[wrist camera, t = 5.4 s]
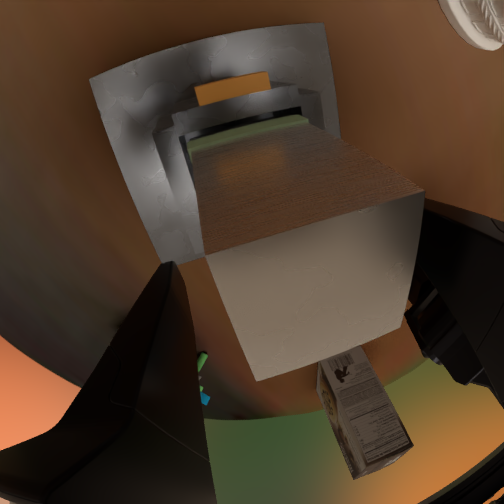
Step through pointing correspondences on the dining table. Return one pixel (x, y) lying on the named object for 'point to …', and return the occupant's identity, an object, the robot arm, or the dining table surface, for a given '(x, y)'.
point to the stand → (206, 114)
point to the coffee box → (360, 413)
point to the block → (303, 239)
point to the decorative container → (477, 21)
